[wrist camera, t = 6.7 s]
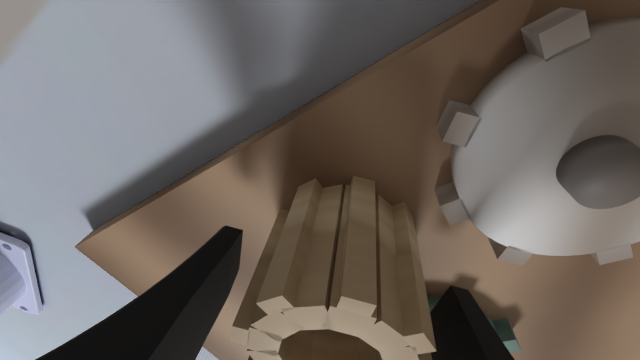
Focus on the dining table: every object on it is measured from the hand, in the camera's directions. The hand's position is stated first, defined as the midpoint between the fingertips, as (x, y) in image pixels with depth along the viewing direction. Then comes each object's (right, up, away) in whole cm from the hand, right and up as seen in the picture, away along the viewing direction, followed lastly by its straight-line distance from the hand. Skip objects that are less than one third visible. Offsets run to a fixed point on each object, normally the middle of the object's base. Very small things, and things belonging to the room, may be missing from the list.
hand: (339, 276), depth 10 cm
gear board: (+3, -1, +4) cm, 5 cm away
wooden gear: (0, +1, +2) cm, 2 cm away
